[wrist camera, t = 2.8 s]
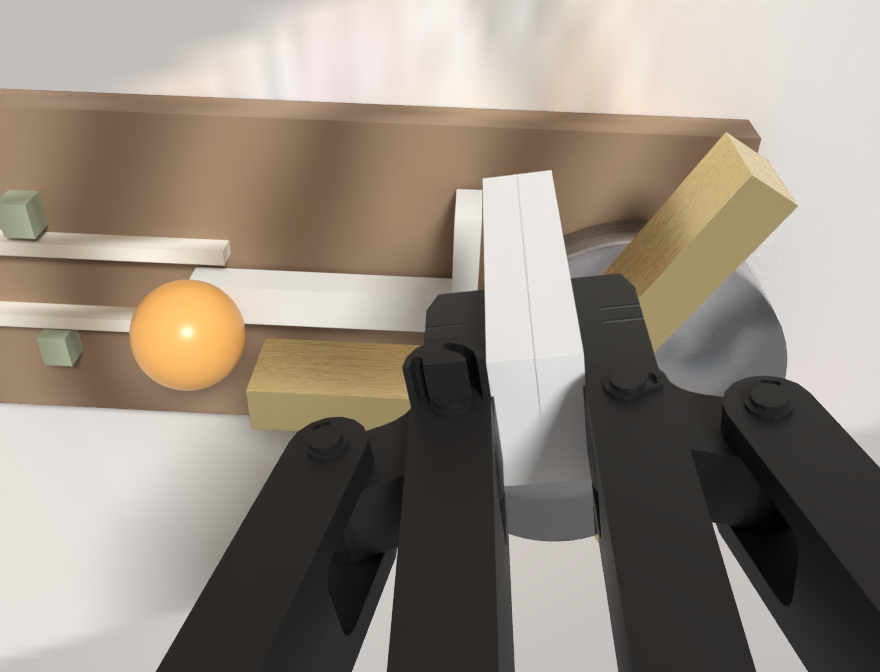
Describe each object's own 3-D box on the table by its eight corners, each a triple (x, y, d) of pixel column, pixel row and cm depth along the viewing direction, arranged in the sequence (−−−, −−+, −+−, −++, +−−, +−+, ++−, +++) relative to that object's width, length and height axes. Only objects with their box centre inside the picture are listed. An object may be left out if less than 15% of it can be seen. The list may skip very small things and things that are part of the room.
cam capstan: (273, 300, 29) (208, 469, 22) (488, -62, 22) (489, 26, 15) (641, 486, 33) (680, 674, 26) (919, 235, 26) (1066, 405, 20)
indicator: (482, 190, 26) (481, 267, 22) (470, 388, 31) (467, 480, 27) (141, 174, 26) (82, 249, 22) (181, 373, 31) (138, 463, 27)
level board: (748, 119, 26) (770, 152, 24) (674, 411, 33) (687, 455, 31) (-103, 84, 27) (-151, 112, 25) (3, 377, 34) (-28, 419, 32)
